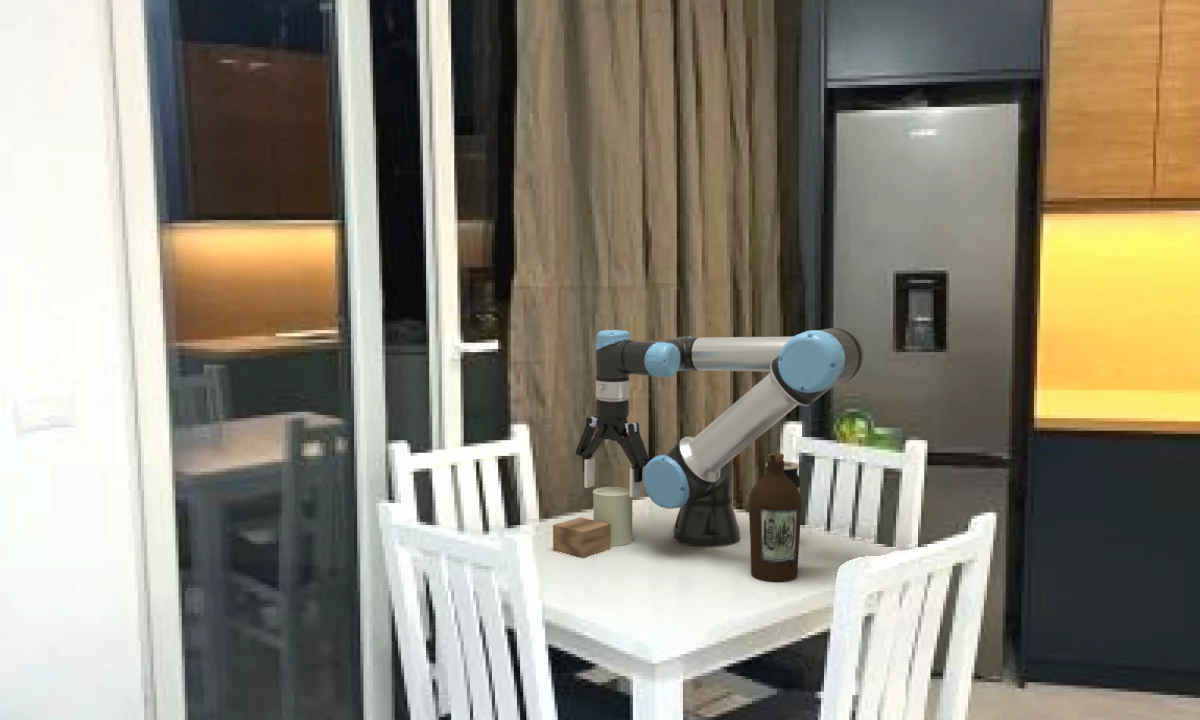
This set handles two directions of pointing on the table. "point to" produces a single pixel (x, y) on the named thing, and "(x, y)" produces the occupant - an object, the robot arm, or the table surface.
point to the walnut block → (581, 537)
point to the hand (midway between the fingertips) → (611, 491)
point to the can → (615, 512)
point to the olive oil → (775, 524)
